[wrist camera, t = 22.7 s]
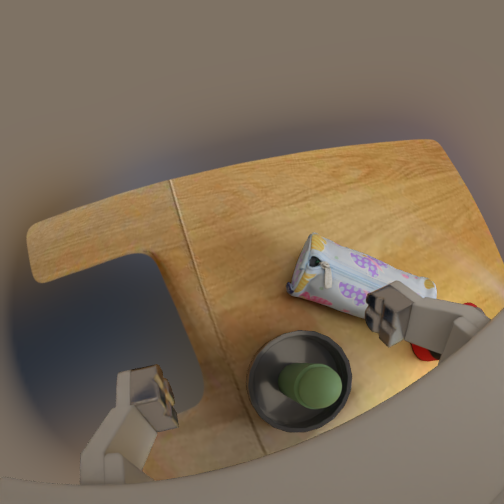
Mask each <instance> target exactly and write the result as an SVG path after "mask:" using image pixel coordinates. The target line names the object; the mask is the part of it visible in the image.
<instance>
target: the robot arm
mask: <svg viewBox="0 0 504 504" xmlns="http://www.w3.org/2000/svg"><path fill="white" fill-rule="evenodd" d="M366 303H367V304H368V307H367V308H366V310H365V321H366V324H367V326H368V327H369V329H370V330H371V331H372V332H376V333H379V339H380V340H381V341H382V342H383V343H384V344H385V345H386V346H388V347H391V346H393V345H395V344H397V343H398V342H400V341H402V340H404V339H405V341H408V342H410V343H413V344H415V345H418V346H421V347H423V348H426V349H429V350H431V351H434V352H437V353H440V354H442V355H441V357H440V360H439V362H438V366H436V367H435V368H434V369H432V370H431V371H430V372H428V373H427V374H425V375H424V376H423V377H421V378H420V379H418V380H417V381H415V382H414V383H412V384H411V385H409V386H408V387H406V388H405V389H403V390H402V391H400V392H399V393H397V394H395V395H394V396H392V397H391V398H389V399H387V400H386V401H384V402H382V403H380V404H379V405H377V406H375V407H373V408H372V409H370V410H368V411H366V412H364V413H363V414H361V415H359V416H357V417H355V418H353V419H351V420H349V421H347V422H345V423H343V424H341V425H339V426H337V427H335V428H333V429H331V430H329V431H327V432H324V433H322V434H320V435H318V436H315V437H313V438H311V439H308V440H306V441H304V442H301V443H299V444H296V445H294V446H291V447H288V448H286V449H283V450H280V451H278V452H275V453H272V454H269V455H266V456H263V457H260V458H257V459H254V460H250V461H247V462H244V463H240V464H237V465H233V466H229V467H226V468H222V469H218V470H213V471H209V472H205V473H200V474H195V475H190V476H185V477H179V478H173V479H166V480H159V481H154V480H153V479H152V478H150V477H149V476H148V475H146V474H145V473H144V472H142V469H143V466H144V464H145V462H146V459H147V457H148V455H149V452H150V450H151V448H152V445H153V443H154V440H155V438H156V436H157V432H161V431H165V430H170V429H174V428H178V427H179V424H178V418H177V412H176V411H175V409H174V408H173V405H174V404H175V400H174V395H173V392H172V389H171V386H170V384H169V382H168V380H167V379H166V378H163V372H162V370H161V368H160V366H159V365H157V364H156V365H152V366H147V367H142V368H137V369H132V370H129V371H123V372H119V373H118V375H117V387H116V408H112V409H111V411H110V412H109V414H108V415H107V416H106V418H105V419H104V421H103V422H102V424H101V425H100V427H99V428H98V429H97V431H96V432H95V434H94V435H93V437H92V438H91V440H90V441H89V442H88V444H87V445H86V447H85V448H84V450H83V451H82V453H81V455H80V485H69V484H54V483H44V482H36V481H28V480H22V479H16V478H11V477H2V478H0V504H504V308H503V309H502V310H501V311H500V312H499V313H498V314H497V315H496V316H495V317H494V318H493V319H492V320H491V319H489V318H488V317H487V316H485V315H484V314H483V313H481V312H480V311H478V310H477V309H476V308H474V307H473V306H470V305H464V304H459V303H454V302H449V301H444V300H439V299H434V298H429V297H425V298H422V297H421V296H420V295H418V294H417V293H416V292H414V291H413V290H411V289H410V288H409V287H407V286H406V285H404V284H403V283H402V282H400V281H394V282H392V283H390V284H388V285H386V286H383V287H381V288H379V289H377V290H375V291H372V292H370V293H368V294H367V296H366Z"/></svg>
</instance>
